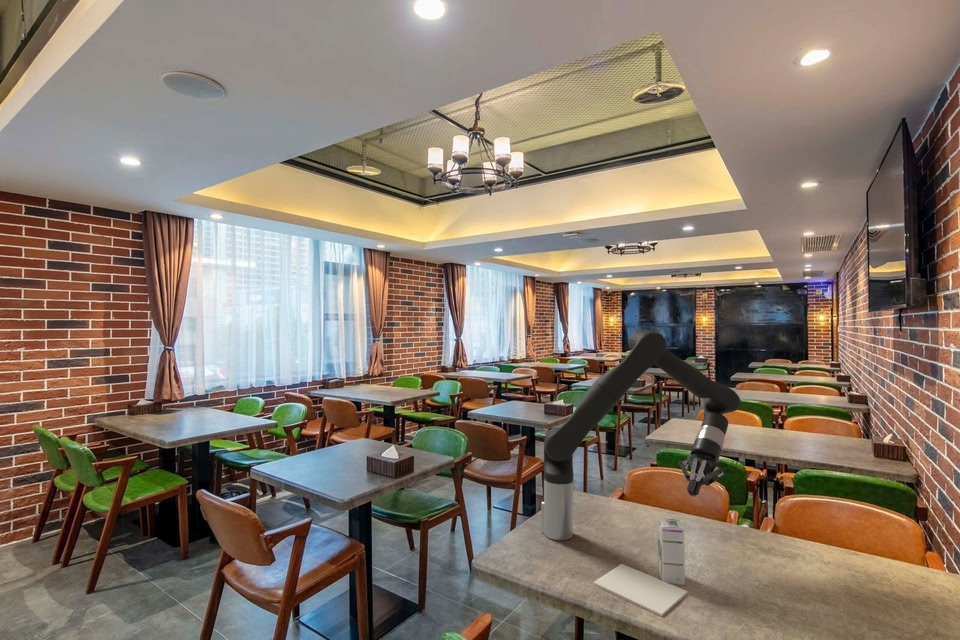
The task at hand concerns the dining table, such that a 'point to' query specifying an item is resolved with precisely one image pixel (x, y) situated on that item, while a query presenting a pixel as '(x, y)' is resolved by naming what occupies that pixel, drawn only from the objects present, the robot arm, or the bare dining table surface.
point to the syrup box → (671, 551)
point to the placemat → (641, 589)
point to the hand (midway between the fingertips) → (691, 494)
